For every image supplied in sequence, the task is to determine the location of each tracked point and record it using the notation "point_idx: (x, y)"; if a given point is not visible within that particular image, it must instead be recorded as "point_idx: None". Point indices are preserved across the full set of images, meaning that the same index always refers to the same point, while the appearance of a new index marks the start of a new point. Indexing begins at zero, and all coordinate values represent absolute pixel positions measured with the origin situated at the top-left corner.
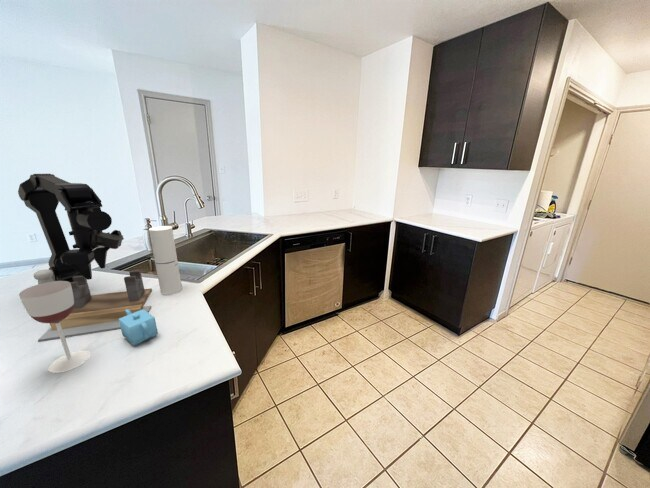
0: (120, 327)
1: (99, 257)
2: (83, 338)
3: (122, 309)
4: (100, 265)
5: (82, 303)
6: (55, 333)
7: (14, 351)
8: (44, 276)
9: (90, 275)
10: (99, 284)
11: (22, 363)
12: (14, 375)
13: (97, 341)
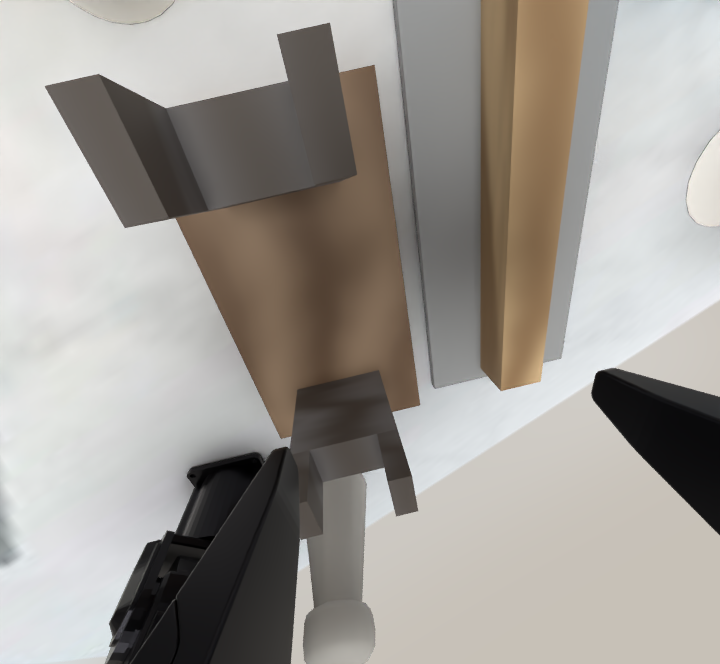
0: (604, 72)
1: (261, 662)
2: (601, 220)
3: (554, 88)
4: (295, 501)
5: (373, 381)
6: None
7: (581, 376)
8: (365, 619)
9: (684, 388)
10: (139, 455)
11: (659, 314)
12: (711, 292)
13: (657, 139)
